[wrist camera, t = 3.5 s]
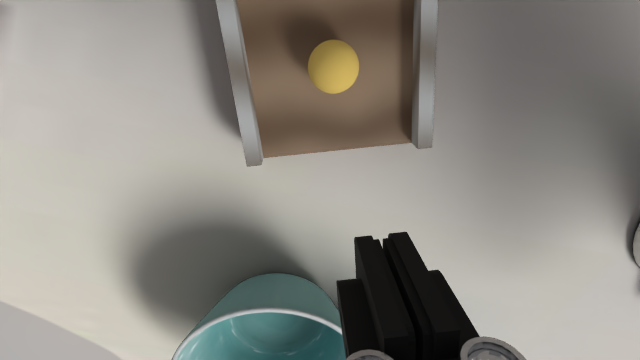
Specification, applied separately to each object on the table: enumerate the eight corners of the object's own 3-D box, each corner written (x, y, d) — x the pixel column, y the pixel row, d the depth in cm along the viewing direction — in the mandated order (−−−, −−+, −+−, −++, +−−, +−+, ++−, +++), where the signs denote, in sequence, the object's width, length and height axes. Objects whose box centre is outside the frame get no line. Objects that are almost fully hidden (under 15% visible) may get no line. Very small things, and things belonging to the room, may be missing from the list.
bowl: (162, 296, 33) (121, 374, 25) (298, 214, 30) (297, 275, 22) (261, 385, 38) (251, 471, 31) (383, 323, 36) (405, 401, 28)
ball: (356, 87, 23) (364, 94, 21) (309, 91, 23) (311, 100, 20) (353, 36, 22) (361, 37, 19) (305, 41, 22) (305, 43, 19)
